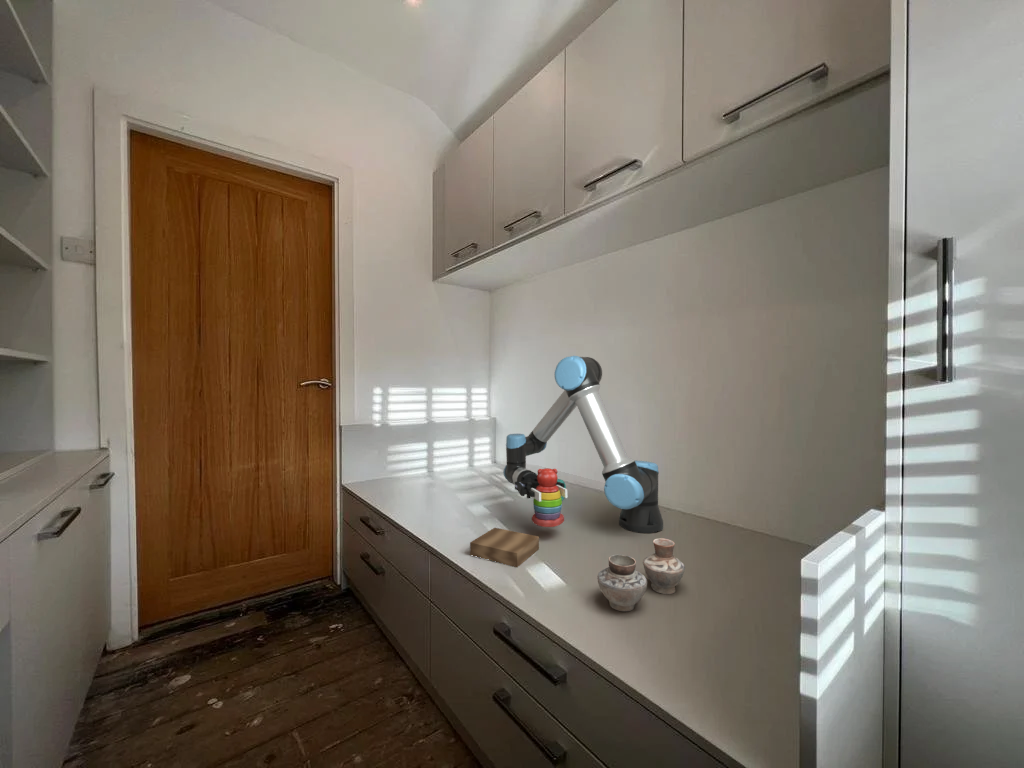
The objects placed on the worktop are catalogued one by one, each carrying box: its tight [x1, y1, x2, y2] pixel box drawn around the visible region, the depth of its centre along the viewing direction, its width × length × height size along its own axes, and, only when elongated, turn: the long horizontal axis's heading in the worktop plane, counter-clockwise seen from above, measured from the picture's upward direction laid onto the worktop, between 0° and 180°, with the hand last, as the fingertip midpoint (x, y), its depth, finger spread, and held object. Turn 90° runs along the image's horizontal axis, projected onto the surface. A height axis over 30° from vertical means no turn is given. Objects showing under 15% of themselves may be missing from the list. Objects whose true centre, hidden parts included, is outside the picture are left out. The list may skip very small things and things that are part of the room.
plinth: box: [469, 527, 540, 568], centre depth 128 cm, size 16×14×4 cm
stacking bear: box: [531, 468, 565, 528], centre depth 139 cm, size 11×10×18 cm
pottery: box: [596, 537, 686, 612], centre depth 103 cm, size 11×25×12 cm, turn 121°
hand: (553, 495), depth 134 cm, fingers closed on stacking bear, 9 cm apart
